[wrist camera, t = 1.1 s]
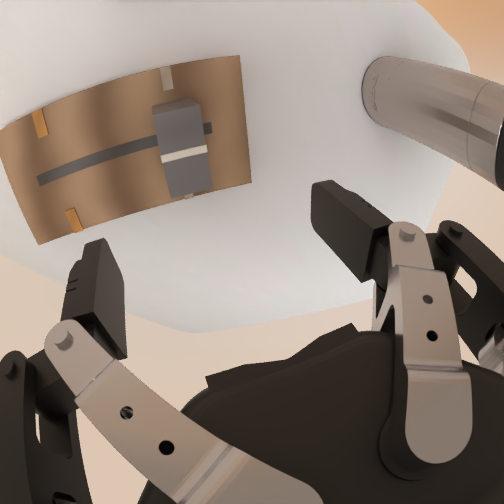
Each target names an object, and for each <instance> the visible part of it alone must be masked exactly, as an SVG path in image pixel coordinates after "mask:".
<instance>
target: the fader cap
mask: <svg viewBox="0 0 504 504" xmlns="http://www.w3.org/2000/svg"><path fill="white" fill-rule="evenodd" d="M152 116H153V121H154V126H155V131H156V136H157V141H158V145H159V150H160V155H161V161H162V163H163V168H164V172H165V176H166V180H167V185H168V189H169V193H170V197H171V199H173V198H176V197H180V196H184V195H188V194H192V193H196V192H200V191H204V190H208V189H212V188H213V186H212V180H211V174H210V168H209V162H208V155H207V146H206V143H205V136H204V129H203V123H202V116H201V109H200V105H199V104H198V103H196V102H195V101H194V100H192V99H191V98H186V99H181V100H177V101H172V102H168V103H163V104H159V105H155V106H152Z"/></svg>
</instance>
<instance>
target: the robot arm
mask: <svg viewBox="0 0 504 504" xmlns="http://www.w3.org/2000/svg"><path fill="white" fill-rule="evenodd" d="M362 93H363V101H364V105H365V108H366V110H367V112H368V114H369V115H370V117H371V118H372V119H373V120H374V121H375V122H376V123H378V124H380V125H382V126H385V127H387V128H389V129H392V130H394V131H396V132H398V133H401V134H403V135H405V136H407V137H409V138H411V139H413V140H416V141H418V142H420V143H422V144H424V145H426V146H428V147H430V148H432V149H434V150H436V151H438V152H440V153H442V154H443V155H445V156H447V157H449V158H451V159H453V160H454V161H456V162H458V163H460V164H462V165H463V166H465V167H467V168H468V169H470V170H472V171H474V172H475V173H477V174H479V175H480V176H482V177H483V178H485V179H486V180H488V181H489V182H491V183H492V184H494V185H495V186H497V187H498V188H500V189H501V190H502V191H504V86H503V85H501V84H498V83H495V82H493V81H490V80H487V79H484V78H481V77H478V76H475V75H472V74H468V73H465V72H462V71H458V70H454V69H451V68H447V67H443V66H438V65H434V64H429V63H425V62H420V61H415V60H409V59H403V58H397V57H390V56H387V57H381V58H379V59H377V60H376V61H374V62H373V63H372V64H371V66H370V67H369V68H368V70H367V72H366V74H365V77H364V81H363V88H362ZM311 223H312V226H313V228H314V230H315V232H316V233H317V234H318V235H319V236H320V237H321V238H322V239H323V240H324V242H325V243H326V244H327V245H328V246H329V247H330V248H331V249H332V250H333V251H334V253H335V254H336V255H337V256H338V257H339V258H340V259H341V260H342V261H343V263H344V264H345V265H346V266H347V267H348V268H349V269H350V271H351V272H352V273H353V274H354V275H355V276H356V277H357V279H358V280H359V281H360V282H361V283H363V282H365V281H368V280H370V279H374V280H375V283H374V287H373V317H372V329H371V331H361V332H358V331H357V330H356V328H355V327H354V325H353V324H352V323H350V324H348V325H345V326H343V327H341V328H338V329H336V330H334V331H332V332H329V333H327V334H325V335H322V336H320V337H318V338H317V339H316V340H314V341H313V342H312V343H310V344H309V345H307V346H306V347H305V348H303V349H302V350H300V351H299V352H298V353H297V354H295V355H293V356H292V357H290V358H288V359H286V360H280V361H272V362H264V363H255V364H245V365H241V366H238V367H235V368H232V369H229V370H226V371H222V372H219V373H216V374H212V375H209V376H206V377H205V378H206V381H207V384H208V388H206V389H204V390H203V391H201V392H200V393H198V394H197V395H196V396H194V397H193V398H192V399H191V400H190V401H189V402H188V403H187V404H186V405H185V406H184V408H183V409H182V410H181V411H178V410H177V409H176V408H174V407H173V406H171V405H170V404H169V403H168V402H166V401H165V400H164V399H163V398H161V397H160V396H159V395H157V394H156V393H155V392H154V391H153V390H151V389H150V388H149V387H147V385H145V384H144V383H143V382H142V381H141V380H139V379H138V378H137V377H136V376H135V375H134V374H133V373H131V372H130V371H129V370H128V369H127V368H126V367H124V365H123V364H122V363H120V362H119V361H118V360H122V359H126V358H127V346H126V332H125V331H126V330H125V305H124V281H123V277H122V274H121V271H120V269H119V267H118V265H117V263H116V260H115V258H114V256H113V254H112V252H111V249H110V247H109V245H108V243H107V241H106V239H105V238H102V239H99V240H96V241H93V242H90V243H87V244H85V246H84V251H83V255H82V259H81V260H78V261H76V263H75V264H74V266H73V268H72V269H71V271H70V274H69V278H68V284H67V287H66V293H65V298H64V303H63V309H62V315H61V321H60V322H59V323H58V324H57V325H55V326H54V327H53V328H52V329H51V330H50V331H49V333H48V335H47V337H46V339H45V343H44V349H43V350H41V351H40V352H38V353H36V354H35V355H33V356H31V357H30V358H28V359H27V358H26V357H25V356H24V355H23V354H22V353H21V352H20V351H11V352H9V353H8V354H6V355H5V356H4V357H3V359H2V360H1V362H0V504H93V503H92V499H91V496H90V492H89V488H88V484H87V479H86V475H85V470H84V465H83V459H82V454H81V448H80V441H79V434H78V427H77V418H76V409H78V408H80V409H81V410H82V412H83V413H84V414H85V415H86V416H87V418H88V419H89V420H90V421H91V422H92V424H93V425H94V426H95V427H96V428H97V429H98V430H99V432H101V434H102V435H103V436H104V437H105V438H106V439H107V440H108V441H109V442H110V443H111V444H112V446H113V447H114V448H116V450H117V451H118V452H119V453H120V454H121V455H122V456H123V457H124V458H125V459H126V460H127V461H129V462H130V463H131V464H132V465H133V466H134V467H135V468H136V469H137V470H138V471H139V472H140V473H142V474H143V475H144V476H145V477H146V478H147V479H148V481H147V483H146V486H145V488H144V490H143V492H142V494H141V497H140V499H139V501H138V503H137V504H504V263H503V262H502V261H501V260H500V259H499V258H498V257H497V256H496V255H495V254H494V253H493V252H492V251H491V250H490V249H489V248H488V247H487V246H485V244H483V243H482V242H481V241H480V240H479V239H478V238H477V237H475V236H474V235H473V234H472V233H471V232H470V231H469V230H467V229H466V228H465V227H464V226H462V225H461V224H458V223H457V222H454V221H449V220H446V221H442V222H441V223H440V225H439V229H438V231H437V233H428V234H425V233H424V232H423V231H422V230H421V229H420V228H419V227H417V226H416V225H414V224H411V223H408V222H392V221H391V220H390V219H389V218H387V217H386V216H385V215H384V214H382V213H381V212H380V211H379V210H377V209H376V208H375V207H372V205H371V204H370V203H368V202H367V201H365V200H364V199H363V198H362V197H360V196H359V195H358V194H356V193H354V192H351V191H349V190H346V189H344V188H343V187H341V186H340V185H339V184H337V183H336V182H335V181H333V180H327V181H322V182H317V183H314V184H313V185H312V190H311ZM460 266H461V267H462V268H463V269H464V270H465V271H466V272H467V273H468V274H469V275H470V276H471V277H472V278H473V279H474V280H475V282H476V285H477V293H476V295H475V297H474V298H473V299H472V298H471V296H470V295H469V294H468V293H467V292H466V291H465V290H464V289H463V287H462V286H461V285H460V284H459V283H458V282H457V281H456V280H455V279H454V278H455V276H456V273H457V271H458V269H459V267H460ZM458 334H459V335H460V336H461V338H462V339H463V341H464V342H465V343H466V344H467V346H468V347H469V349H470V350H471V352H472V353H473V354H474V356H475V357H476V358H477V360H478V361H479V364H480V365H479V366H478V365H475V364H472V363H470V362H467V361H464V360H461V353H460V345H459V338H458ZM35 413H36V414H38V415H39V430H40V443H39V441H38V438H37V435H36V422H35V421H36V420H35Z"/></svg>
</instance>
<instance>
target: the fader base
mask: <svg viewBox="0 0 504 504" xmlns="http://www.w3.org/2000/svg"><path fill="white" fill-rule="evenodd" d="M186 98H191V99H192V100H194V101H195V102H196V103H198V104H199V105H200V109H201V116H202V123H203V129H204V136H205V143H206V146H207V155H208V162H209V168H210V174H211V180H212V186H213V188H212V189H208V190H204V191H200V192H196V193H192V194H188V195H184V196H180V197H176V198H173V199H171V197H170V193H169V189H168V185H167V180H166V176H165V172H164V168H163V163H162V161H161V155H160V150H159V145H158V141H157V136H156V131H155V126H154V121H153V116H152V106H155V105H159V104H163V103H168V102H172V101H177V100H181V99H186ZM0 157H1V160H2V163H3V166H4V169H5V171H6V174H7V177H8V179H9V182H10V185H11V187H12V189H13V192H14V194H15V197H16V199H17V201H18V204H19V206H20V208H21V210H22V213H23V215H24V217H25V219H26V221H27V223H28V225H29V227H30V229H31V231H32V233H33V235H34V237H35V239H36V241H37V243H38V245H41V244H43V243H46V242H49V241H51V240H54V239H57V238H60V237H62V236H65V235H68V234H71V233H77V232H79V231H82V230H83V229H85V228H88V227H91V226H94V225H97V224H100V223H103V222H107V221H110V220H113V219H116V218H119V217H123V216H126V215H129V214H132V213H136V212H139V211H142V210H146V209H149V208H153V207H156V206H160V205H163V204H167V203H171V202H174V201H178V200H182V199H189V198H193V196H197V195H201V194H205V193H209V192H213V191H217V190H221V189H226V188H230V187H234V186H239V185H243V184H247V183H252V180H251V169H250V159H249V148H248V137H247V127H246V116H245V106H244V95H243V85H242V75H241V65H240V55H238V56H228V57H219V58H212V59H205V60H198V61H192V62H186V63H181V64H176V65H171V66H166V67H161V68H157V69H153V70H148V71H144V72H140V73H137V74H133V75H129V76H126V77H122V78H119V79H116V80H113V81H109V82H106V83H103V84H100V85H97V86H95V87H92V88H89V89H86V90H83V91H81V92H78V93H76V94H73V95H71V96H68V97H66V98H63V99H61V100H59V101H56V102H54V103H52V104H50V105H47V106H45V107H43V108H41V109H39V110H37V111H35V112H33V113H31V114H29V115H27V116H25V117H23V118H21V119H19V120H17V121H15V122H14V123H12V124H10V125H8V126H6V127H5V128H3V129H1V130H0Z"/></svg>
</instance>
